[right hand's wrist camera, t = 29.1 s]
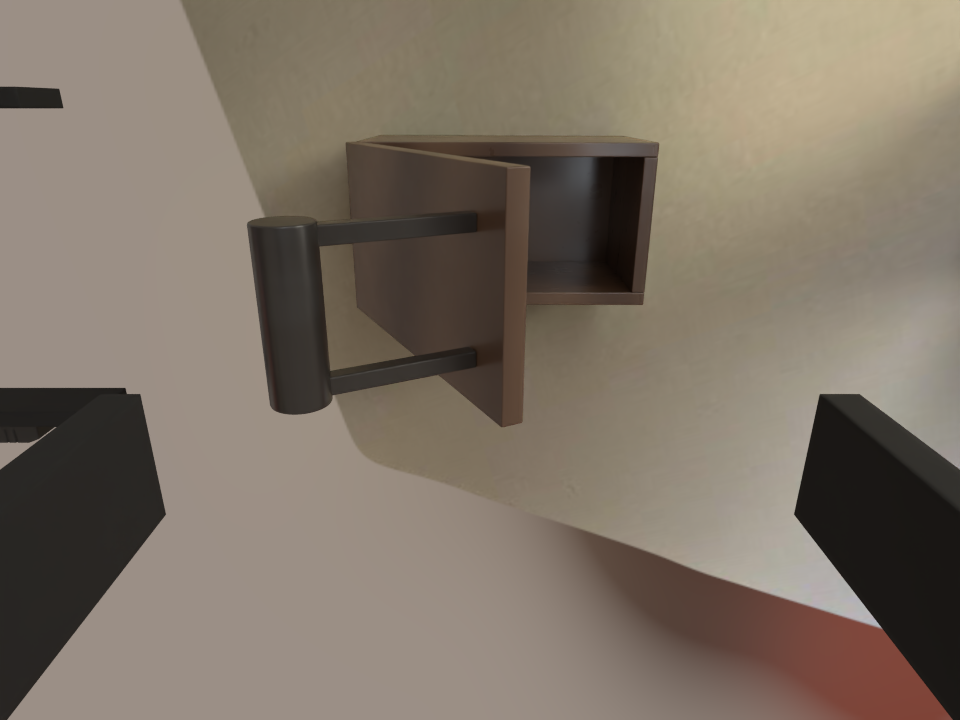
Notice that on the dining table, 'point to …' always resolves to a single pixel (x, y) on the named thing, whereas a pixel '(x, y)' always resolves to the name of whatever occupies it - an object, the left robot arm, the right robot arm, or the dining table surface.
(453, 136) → the chest
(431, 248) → the lid
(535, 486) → the dining table surface
